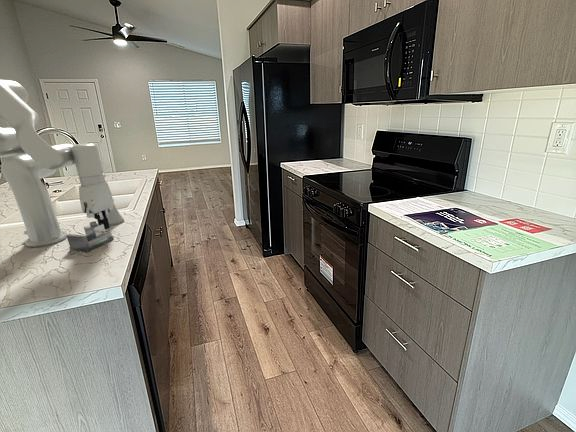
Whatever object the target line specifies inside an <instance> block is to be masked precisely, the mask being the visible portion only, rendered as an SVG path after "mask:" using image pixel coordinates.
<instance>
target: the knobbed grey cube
mask: <svg viewBox="0 0 576 432" xmlns="http://www.w3.org/2000/svg"><path fill="white" fill-rule="evenodd" d="M83 229H84V233H85V236H86V237H87V240H93V239H95V238H98V237H100V236H102V235H104V234H106V233H107V232H106V229H105V228H104V224H98V222H97V220H96V221H94V220H93V221H90V222H89V224H88V225H85V226H84V227H83Z"/></svg>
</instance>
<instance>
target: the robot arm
mask: <svg viewBox="0 0 576 432" xmlns="http://www.w3.org/2000/svg"><path fill="white" fill-rule="evenodd" d="M28 102H29V93H28V91H27V90H26V89H25V87H24V86H23V85H21V84H20V83H18V82H17V81H15V80H11V79H1V78H0V119H2V120H3V121H4V123H6V125H8V127H1V126H0V159H2V158H5V160H4V161H3V162H2V163H1V167H0V168H1V169H0V170H1V173H2V175H3V176H2V177H3V178H4V179H5V180H6V182H7V184H8V186H9V187H10V189H11V191H12V195H13V196H14V199H15V202H16V203H17V204H16V205H17V207H18V210H19V213H20V216H21V219H22V221H23V224H24V227H25V229H26V230H24V232H23V234H24V235H27V236H28V237H27V239H26V240H25V241H24V242H25V246H26V247H30V248H38V247H39V248H40V247H44V246H49V245H52V244H53V245H54V244H56V243H59V242H61V241H63V240H65V239H66V238H67V236H66V235H68V233H67V232H66V231H64V230H61V227H60V223H59V221H58V218H57V213H56V211H55V208H54V205H53V202H52V198H51V195H50V192H49V190H48V188H47V187H46V186H45V183H43V182H42V181H41V179H45V178H48V177H50V176H52V175H54V174H55V173H56V171H57V170H60V169H63V168H67V167H71V166H74V165H75V168H76V172H77V176H78V180H79V183H80V185H79V186H78V194H79V195H78V197H79V202H80V207H81V211H82V213H84V214H86V218H88V219H93V218H94V219H95V220H96V222H97V223H98V224H104V228H105V230H108V229H110V228H111V227H110V226H111V225H109V222H108V217H109V212H110V211H111V210H112V209H113V205H114V204H115V201H114V202H113V199H114V198H113V195H112V191H111V189H110V186H109V184H108V182H107V181H106V179H105V178H106V173H104V170H103V165H102V160H101V157H100V153H99V149H98V147H97V145H96V144H95V143H79V144H77V143H65V142H64V143H60V144H53V145H50V144H49V143H48V142H47V141H46V140H44V138H42V137H41V136H40V134H38V132H37V130H36V128H35V127H36V126H37V125H38V123H39V121H40V116H39V114H38V113H37V112H36V111H35V110H34V109H32V107H30V106H29V105H28V104H27V103H28ZM6 157H7V158H6Z"/></svg>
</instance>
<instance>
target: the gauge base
mask: <svg viewBox="0 0 576 432" xmlns="http://www.w3.org/2000/svg"><path fill="white" fill-rule="evenodd" d="M66 236H67V237H66V238H67V242H68V245H69V247H68V248H69V251H73V252H80V251H81V253H90V252H93V251H95V249H98V248H99V247H102V246H104V245H106V244H107V243H110V242H111V241H114V239H115V238H114V236H113V235H112V231H108V232H106V234H104V235H102V236H100V237H98V238H95V239H93V240H87V237H86V235H82V234H72V233H69V234H67V235H66Z"/></svg>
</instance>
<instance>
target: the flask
mask: <svg viewBox="0 0 576 432" xmlns="http://www.w3.org/2000/svg"><path fill="white" fill-rule="evenodd" d="M113 202H114V205H113V209H112V210H111V211H110V212H109V217H108V222H109V226H114V225H118V224H120V223H123V222H125V219H124V217H123V216H122V214H121V213H120V211H119V210H118V208H117V206H116V204H115V199H114V198H113Z"/></svg>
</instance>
